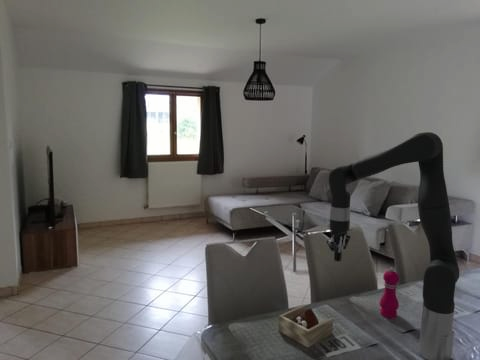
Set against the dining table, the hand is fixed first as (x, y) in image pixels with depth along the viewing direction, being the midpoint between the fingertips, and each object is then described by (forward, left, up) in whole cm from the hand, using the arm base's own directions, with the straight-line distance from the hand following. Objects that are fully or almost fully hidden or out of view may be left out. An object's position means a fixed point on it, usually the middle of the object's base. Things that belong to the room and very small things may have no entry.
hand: (337, 260), depth 154 cm
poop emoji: (0, +17, -24) cm, 29 cm away
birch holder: (0, +18, -23) cm, 29 cm away
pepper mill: (-13, -18, -24) cm, 33 cm away
